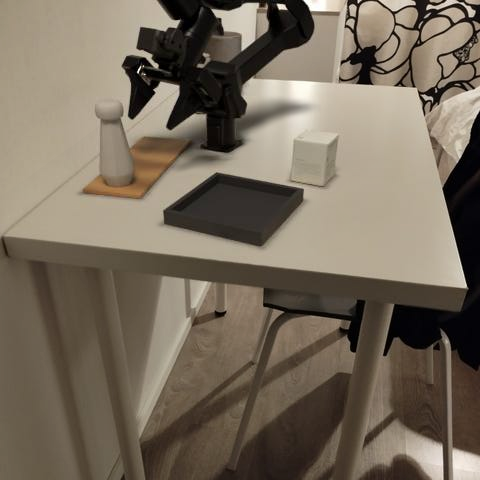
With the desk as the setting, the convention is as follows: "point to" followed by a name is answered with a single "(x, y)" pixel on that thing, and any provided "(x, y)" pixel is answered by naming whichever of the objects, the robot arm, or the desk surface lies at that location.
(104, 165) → the salt shaker
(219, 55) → the pillar candle
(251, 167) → the desk surface
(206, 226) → the tray
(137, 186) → the wooden board
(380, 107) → the desk surface
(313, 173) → the product box
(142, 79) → the robot arm
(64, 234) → the desk surface
